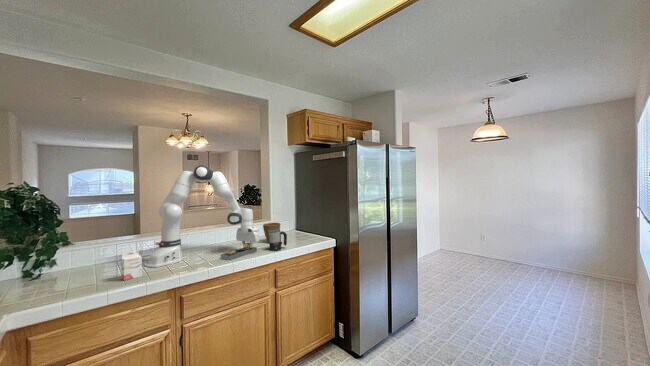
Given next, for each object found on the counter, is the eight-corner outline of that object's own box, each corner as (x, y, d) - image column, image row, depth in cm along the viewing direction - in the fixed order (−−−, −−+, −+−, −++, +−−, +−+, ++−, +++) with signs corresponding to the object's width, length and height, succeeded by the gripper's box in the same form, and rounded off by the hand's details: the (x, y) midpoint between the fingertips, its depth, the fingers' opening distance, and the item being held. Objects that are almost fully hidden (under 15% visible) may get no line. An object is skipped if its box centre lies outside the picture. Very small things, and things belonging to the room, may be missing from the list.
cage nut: (247, 250, 193) (247, 244, 193) (243, 249, 195) (243, 243, 195) (252, 249, 197) (252, 242, 197) (247, 248, 199) (247, 242, 199)
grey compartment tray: (230, 261, 175) (229, 256, 175) (220, 259, 180) (220, 254, 180) (256, 252, 197) (256, 247, 197) (248, 250, 202) (247, 246, 202)
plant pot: (265, 240, 236) (265, 222, 236) (282, 240, 235) (282, 222, 235) (261, 244, 221) (260, 225, 221) (278, 244, 220) (278, 225, 220)
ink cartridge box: (124, 281, 144) (123, 253, 144) (121, 279, 147) (120, 252, 147) (142, 276, 150) (141, 250, 150) (139, 274, 154) (138, 249, 154)
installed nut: (230, 259, 178) (230, 252, 178) (225, 258, 181) (225, 251, 181) (235, 257, 182) (235, 250, 182) (231, 256, 185) (230, 249, 185)
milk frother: (272, 252, 197) (271, 232, 197) (263, 248, 209) (262, 229, 209) (289, 248, 205) (288, 229, 205) (279, 245, 218) (278, 227, 218)
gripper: (233, 228, 198) (234, 247, 198) (254, 230, 188) (254, 249, 188) (240, 227, 203) (240, 245, 203) (260, 228, 193) (261, 247, 193)
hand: (247, 247), depth 196 cm, fingers closed on cage nut, 5 cm apart
